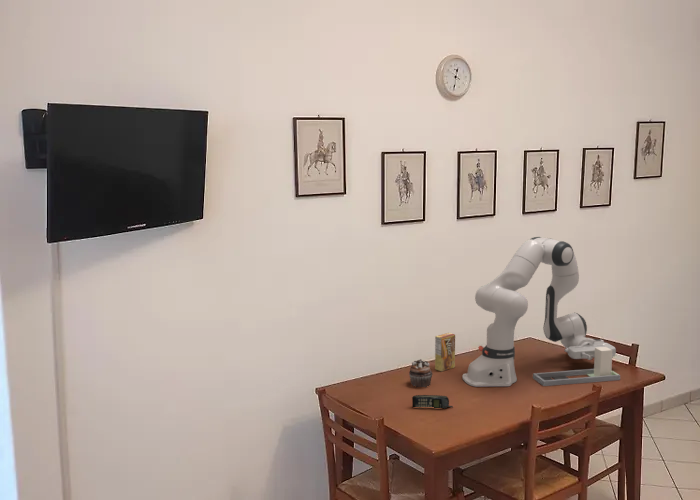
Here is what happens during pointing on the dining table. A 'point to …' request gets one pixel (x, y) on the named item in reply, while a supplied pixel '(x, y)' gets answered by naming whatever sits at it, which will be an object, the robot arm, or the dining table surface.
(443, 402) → the mobile phone
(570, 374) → the tray
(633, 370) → the dining table surface
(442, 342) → the candy box
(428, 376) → the cupcake
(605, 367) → the ivory block
